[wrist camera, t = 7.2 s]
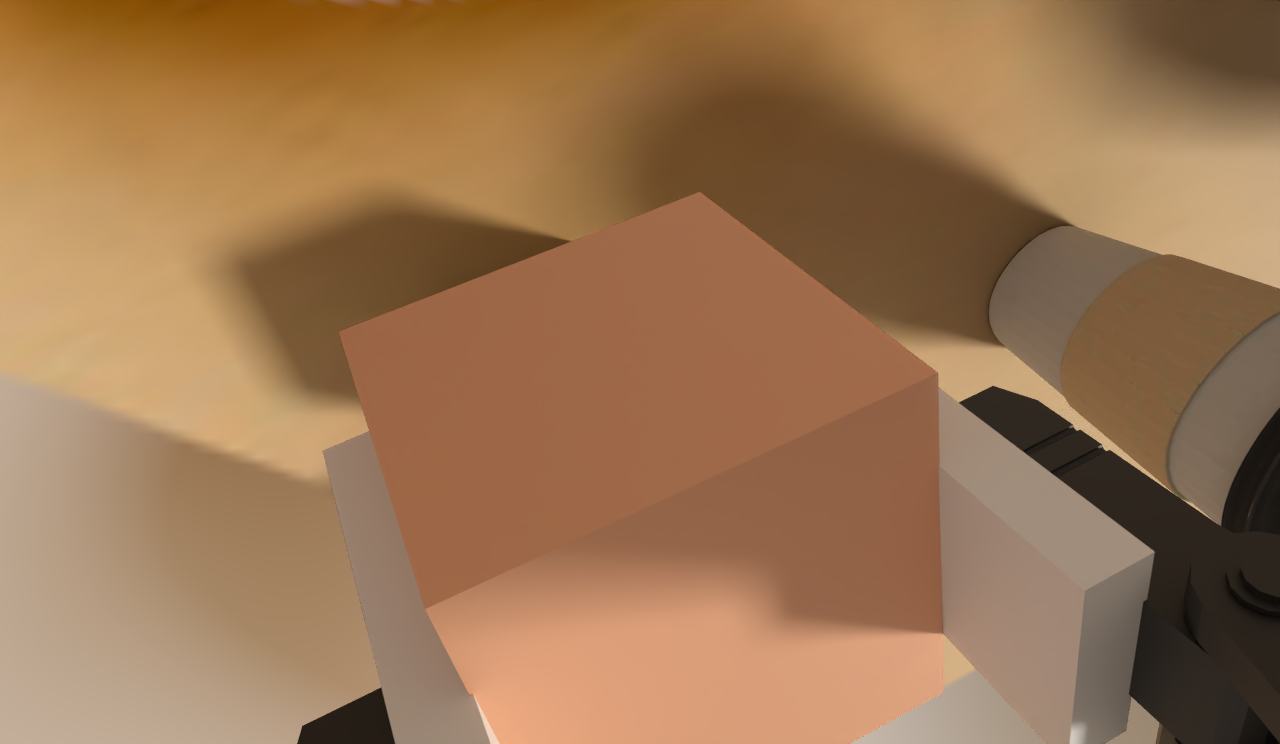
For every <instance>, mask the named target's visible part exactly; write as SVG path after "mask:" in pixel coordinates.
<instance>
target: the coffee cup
mask: <svg viewBox="0 0 1280 744" xmlns="http://www.w3.org/2000/svg"><path fill="white" fill-rule="evenodd" d="M989 321H990V325H991V328H992V331H993V333H994V334H995V336H996V338H997V339H998V340H999V341H1000V342H1001V343H1002V344H1003V345H1004V346H1005V347H1006V348H1007V349H1009V350H1010V351H1011V352H1012V353H1013V354H1015V355H1016V356H1017V357H1018V358H1019V359H1021V360H1022V361H1023V362H1024V363H1025V364H1026V365H1028V366H1029V367H1030V368H1031V369H1032V370H1034V371H1035V372H1036V373H1037V374H1038V375H1040V376H1041V377H1042V378H1043V379H1044V380H1045V381H1047V382H1048V383H1049V384H1050V385H1051V386H1053V387H1054V388H1055V389H1056V390H1057V391H1058V392H1060V393H1061V394H1062V395H1063V396H1064V397H1065V398H1066V400H1067V402H1068V403H1069V405H1070V406H1071V407H1072V408H1073V409H1074V410H1076V411H1077V412H1078V413H1079V414H1080V415H1081V416H1083V417H1084V418H1085V419H1086V420H1087V421H1088V422H1090V423H1091V424H1092V425H1093V426H1094V427H1096V428H1097V429H1098V430H1099V431H1100V432H1102V433H1103V434H1104V435H1105V436H1106V437H1108V438H1109V439H1110V440H1111V441H1112V442H1113V443H1115V444H1116V445H1117V446H1118V447H1119V448H1121V449H1122V450H1123V451H1124V452H1125V453H1127V454H1128V455H1129V456H1130V457H1131V458H1133V459H1134V460H1135V461H1136V462H1137V463H1138V464H1140V465H1141V466H1142V467H1143V468H1144V469H1146V470H1147V471H1148V472H1149V473H1150V474H1152V475H1153V476H1154V477H1155V478H1156V479H1158V480H1159V481H1160V482H1161V483H1162V484H1164V485H1165V486H1166V487H1167V488H1168V489H1169V490H1171V491H1172V492H1173V493H1174V494H1175V495H1177V496H1178V497H1179V498H1180V499H1183V500H1185V501H1188V502H1190V503H1193V504H1194V505H1195V506H1196V507H1198V508H1199V509H1200V510H1201V511H1203V512H1204V513H1205V514H1206V515H1207V516H1209V517H1210V518H1211V519H1212V520H1213V521H1215V522H1216V523H1217V524H1218V525H1220V526H1222V527H1224V528H1225V529H1227V530H1229V531H1231V532H1232V533H1243V532H1251V531H1256V532H1263V533H1270V534H1277V535H1280V289H1279V288H1276V287H1272V286H1269V285H1266V284H1263V283H1260V282H1257V281H1254V280H1251V279H1248V278H1245V277H1242V276H1239V275H1235V274H1232V273H1229V272H1226V271H1223V270H1220V269H1217V268H1214V267H1211V266H1208V265H1205V264H1202V263H1198V262H1195V261H1192V260H1189V259H1186V258H1183V257H1179V256H1175V255H1171V254H1170V255H1161V254H1158V253H1155V252H1152V251H1149V250H1145V249H1142V248H1139V247H1136V246H1133V245H1130V244H1127V243H1124V242H1121V241H1118V240H1114V239H1111V238H1108V237H1105V236H1102V235H1099V234H1096V233H1093V232H1090V231H1087V230H1083V229H1080V228H1076V227H1073V226H1059V227H1056V228H1053V229H1050V230H1047V231H1046V232H1044V233H1042V234H1040V235H1039V236H1037V237H1036V238H1034V239H1033V240H1032V241H1030V242H1029V243H1028V244H1027V245H1026V246H1025V247H1023V248H1022V249H1021V250H1020V251H1019V252H1018V253H1017V254H1016V256H1015V257H1014V258H1013V259H1012V260H1011V262H1010V263H1009V264H1008V265H1007V267H1006V268H1005V270H1004V271H1003V273H1002V274H1001V276H1000V277H999V279H998V281H997V283H996V285H995V288H994V290H993V293H992V296H991V299H990V305H989Z"/></svg>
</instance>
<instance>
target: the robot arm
mask: <svg viewBox="0 0 1280 744" xmlns="http://www.w3.org/2000/svg"><path fill="white" fill-rule="evenodd" d="M938 393H939V451H940V464H939V498H940V533H941V568H942V624H943V634H944V635H945V636H946V637H947V638H948V639H949V640H950V641H951V642H952V643H953V645H954V646H955V647H956V648H957V649H958V650H959V651H960V652H961V653H962V654H963V655H964V656H965V657H966V658H967V660H968V661H969V662H970V663H971V664H972V665H973V666H974V667H975V668H976V669H977V670H978V671H979V672H980V673H981V674H982V675H983V677H984V678H985V679H986V680H987V681H988V682H989V683H990V684H991V685H992V686H993V687H994V688H995V689H996V691H997V692H998V693H999V694H1000V695H1001V696H1002V697H1003V698H1004V699H1005V700H1006V701H1007V702H1008V703H1009V704H1010V705H1011V707H1012V708H1013V709H1014V710H1015V711H1016V712H1017V713H1018V714H1019V715H1020V716H1021V717H1022V718H1023V719H1024V720H1025V721H1026V723H1027V724H1028V725H1029V726H1030V727H1031V728H1032V729H1033V730H1034V731H1035V732H1036V733H1037V734H1038V735H1039V737H1040V738H1041V739H1042V740H1043V741H1044V742H1045V743H1046V744H1105V743H1106V742H1108V741H1110V740H1112V739H1113V738H1115V737H1117V736H1118V735H1120V734H1121V733H1123V732H1125V731H1126V727H1127V722H1128V715H1129V709H1130V703H1131V697H1133V698H1134V699H1135V700H1136V701H1137V702H1138V703H1139V704H1140V705H1141V706H1142V707H1143V708H1144V709H1146V710H1147V711H1148V712H1149V713H1150V714H1151V715H1152V716H1153V717H1154V718H1155V719H1156V720H1157V721H1158V722H1159V723H1160V724H1159V729H1158V734H1157V739H1156V744H1280V535H1277V534H1270V533H1263V532H1256V531H1251V532H1243V533H1232V532H1231V531H1229V530H1227V529H1225V528H1224V527H1222V526H1220V525H1218V524H1217V523H1215V522H1214V521H1212V520H1211V519H1209V518H1208V517H1206V516H1205V515H1203V514H1202V513H1201V512H1199V511H1198V510H1196V509H1195V508H1193V507H1192V506H1190V505H1189V504H1187V503H1186V502H1185V501H1183V500H1182V499H1180V498H1179V497H1177V496H1176V495H1174V494H1173V493H1171V492H1170V491H1169V490H1167V489H1166V488H1164V487H1163V486H1161V485H1160V484H1158V483H1157V482H1155V481H1154V480H1153V479H1151V478H1150V477H1148V476H1147V475H1145V474H1144V473H1142V472H1141V471H1140V470H1138V469H1137V468H1135V467H1134V466H1132V465H1131V464H1129V463H1128V462H1126V461H1125V460H1124V459H1122V458H1121V457H1119V456H1118V455H1116V454H1115V453H1113V452H1112V451H1110V450H1108V451H1105V450H1104V449H1103V447H1102V444H1100V443H1099V442H1097V441H1096V440H1094V439H1093V438H1092V437H1090V436H1089V435H1087V434H1086V433H1084V432H1083V431H1081V430H1078V431H1076V430H1075V429H1074V427H1073V424H1071V423H1070V422H1068V421H1067V420H1065V419H1064V418H1062V417H1061V416H1060V415H1058V414H1057V413H1055V412H1054V411H1052V410H1051V409H1049V408H1048V407H1047V406H1045V405H1044V404H1042V403H1041V402H1039V401H1038V400H1035V399H1032V398H1029V397H1026V396H1022V395H1019V394H1016V393H1013V392H1010V391H1007V390H1004V389H1001V388H998V387H995V386H992V387H990V388H988V389H986V390H984V391H982V392H980V393H978V394H976V395H973V396H971V397H969V398H967V399H965V400H963V401H961V402H959V403H958V402H957V401H956V400H954V399H953V398H952V397H950V396H949V395H948V394H946V393H945V392H944V391H942V390H941V389H940V388H938ZM323 454H324V458H325V462H326V466H327V471H328V475H329V479H330V483H331V487H332V491H333V495H334V499H335V503H336V507H337V511H338V515H339V518H340V523H341V527H342V531H343V535H344V539H345V543H346V547H347V551H348V555H349V559H350V563H351V567H352V571H353V575H354V579H355V583H356V587H357V591H358V595H359V599H360V604H361V607H362V612H363V616H364V620H365V624H366V628H367V632H368V635H369V640H370V644H371V648H372V652H373V656H374V659H375V664H376V668H377V672H378V676H379V680H380V684H381V688H379V689H377V690H375V691H373V692H371V693H369V694H367V695H365V696H363V697H361V698H359V699H357V700H355V701H353V702H351V703H348V704H347V705H344V706H343V707H340V708H338V709H336V710H334V711H332V712H330V713H328V714H326V715H324V716H322V717H320V718H318V719H316V720H314V721H312V722H310V723H308V724H306V725H304V726H302V729H301V733H300V736H299V740H298V743H297V744H499V742H498V740H497V738H496V736H495V734H494V732H493V730H492V729H491V727H490V725H489V723H488V721H487V719H486V717H485V715H484V713H483V712H482V710H481V708H480V706H479V704H478V702H477V700H476V698H475V696H474V695H471V696H470V695H469V693H468V691H467V690H466V688H465V686H464V684H463V682H462V680H461V678H460V676H459V674H458V672H457V670H456V668H455V666H454V664H453V662H452V660H451V659H450V657H449V655H448V653H447V651H446V649H445V647H444V645H443V643H442V641H441V639H440V637H439V635H438V633H437V631H436V629H435V627H434V626H433V624H432V622H431V620H430V618H429V616H428V614H427V612H426V610H425V607H424V604H423V601H422V598H421V595H420V591H419V588H418V585H417V582H416V579H415V575H414V572H413V569H412V566H411V563H410V559H409V556H408V553H407V550H406V547H405V543H404V540H403V537H402V534H401V531H400V527H399V524H398V521H397V518H396V515H395V511H394V508H393V505H392V502H391V499H390V495H389V492H388V489H387V486H386V483H385V479H384V476H383V473H382V470H381V467H380V463H379V460H378V457H377V454H376V451H375V447H374V444H373V441H372V438H371V435H370V431H368V432H366V433H364V434H361V435H359V436H357V437H354V438H352V439H350V440H347V441H345V442H343V443H340V444H338V445H335V446H333V447H331V448H328V449H326V450H324V451H323Z"/></svg>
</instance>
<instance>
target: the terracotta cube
mask: <svg viewBox="0 0 1280 744" xmlns="http://www.w3.org/2000/svg"><path fill="white" fill-rule="evenodd" d="M339 335H340V339H341V342H342V345H343V348H344V351H345V355H346V358H347V361H348V364H349V367H350V371H351V374H352V377H353V380H354V383H355V387H356V390H357V393H358V396H359V399H360V403H361V406H362V409H363V412H364V415H365V419H366V422H367V425H368V428H369V431H370V435H371V438H372V441H373V444H374V447H375V451H376V454H377V457H378V460H379V463H380V467H381V470H382V473H383V476H384V479H385V483H386V486H387V489H388V492H389V495H390V499H391V502H392V505H393V508H394V511H395V515H396V518H397V521H398V524H399V527H400V531H401V534H402V537H403V540H404V543H405V547H406V550H407V553H408V556H409V559H410V563H411V566H412V569H413V572H414V575H415V579H416V582H417V585H418V588H419V591H420V595H421V598H422V601H423V604H424V607H425V610H426V612H427V614H428V616H429V618H430V620H431V622H432V624H433V626H434V627H435V629H436V631H437V633H438V635H439V637H440V639H441V641H442V643H443V645H444V647H445V649H446V651H447V653H448V655H449V657H450V659H451V660H452V662H453V664H454V666H455V668H456V670H457V672H458V674H459V676H460V678H461V680H462V682H463V684H464V686H465V688H466V690H467V691H468V693H469V695H470V696H471V695H474V696H475V698H476V700H477V702H478V704H479V706H480V708H481V710H482V712H483V713H484V715H485V717H486V719H487V721H488V723H489V725H490V727H491V729H492V730H493V732H494V734H495V736H496V738H497V740H498V742H499V744H850V743H852V742H853V741H855V740H857V739H859V738H861V737H863V736H864V735H866V734H868V733H870V732H872V731H874V730H875V729H877V728H879V727H881V726H883V725H885V724H886V723H888V722H890V721H892V720H894V719H896V718H897V717H899V716H901V715H903V714H905V713H907V712H908V711H910V710H912V709H914V708H916V707H917V706H919V705H921V704H923V703H925V702H927V701H928V700H930V699H932V698H934V697H936V696H938V695H939V694H941V693H943V692H944V682H943V624H942V568H941V533H940V498H939V464H940V451H939V393H938V372H936V371H935V370H934V369H932V368H931V367H930V366H928V365H927V364H926V363H924V362H923V361H922V360H920V359H919V358H918V357H916V356H915V355H914V354H913V353H911V352H910V351H909V350H907V349H906V348H905V347H903V346H902V345H901V344H899V343H898V342H897V341H895V340H894V339H893V338H892V337H890V336H889V335H888V334H886V333H885V332H884V331H882V330H881V329H880V328H878V327H877V326H876V325H874V324H873V323H872V322H870V321H869V320H868V319H867V318H865V317H864V316H863V315H861V314H860V313H859V312H857V311H856V310H855V309H853V308H852V307H851V306H849V305H848V304H847V303H845V302H844V301H843V300H842V299H840V298H839V297H838V296H836V295H835V294H834V293H832V292H831V291H830V290H828V289H827V288H826V287H824V286H823V285H822V284H820V283H819V282H818V281H817V280H815V279H814V278H813V277H811V276H810V275H809V274H807V273H806V272H805V271H803V270H802V269H801V268H799V267H798V266H797V265H796V264H794V263H793V262H792V261H790V260H789V259H788V258H786V257H785V256H784V255H782V254H781V253H780V252H778V251H777V250H776V249H774V248H773V247H772V246H771V245H769V244H768V243H767V242H765V241H764V240H763V239H761V238H760V237H759V236H757V235H756V234H755V233H753V232H752V231H751V230H749V229H748V228H747V227H746V226H744V225H743V224H742V223H740V222H739V221H738V220H736V219H735V218H734V217H732V216H731V215H730V214H728V213H727V212H726V211H725V210H723V209H722V208H721V207H719V206H718V205H717V204H715V203H714V202H713V201H711V200H710V199H709V198H707V197H706V196H705V195H703V194H702V193H701V192H698V193H695V194H693V195H690V196H688V197H685V198H682V199H680V200H677V201H675V202H672V203H669V204H667V205H664V206H662V207H659V208H657V209H654V210H651V211H649V212H646V213H644V214H641V215H638V216H636V217H633V218H631V219H628V220H626V221H623V222H620V223H618V224H615V225H613V226H610V227H607V228H605V229H602V230H600V231H597V232H595V233H592V234H589V235H587V236H584V237H582V238H579V239H576V240H574V241H571V242H569V243H566V244H564V245H561V246H558V247H556V248H553V249H551V250H548V251H545V252H543V253H540V254H538V255H535V256H532V257H530V258H527V259H525V260H522V261H520V262H517V263H514V264H512V265H509V266H507V267H504V268H501V269H499V270H496V271H494V272H491V273H489V274H486V275H483V276H481V277H478V278H476V279H473V280H470V281H468V282H465V283H463V284H460V285H458V286H455V287H452V288H450V289H447V290H445V291H442V292H439V293H437V294H434V295H432V296H429V297H427V298H424V299H421V300H419V301H416V302H414V303H411V304H408V305H406V306H403V307H401V308H398V309H396V310H393V311H390V312H388V313H385V314H383V315H380V316H377V317H375V318H372V319H370V320H367V321H365V322H362V323H359V324H357V325H354V326H352V327H349V328H346V329H344V330H341V331H339Z"/></svg>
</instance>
